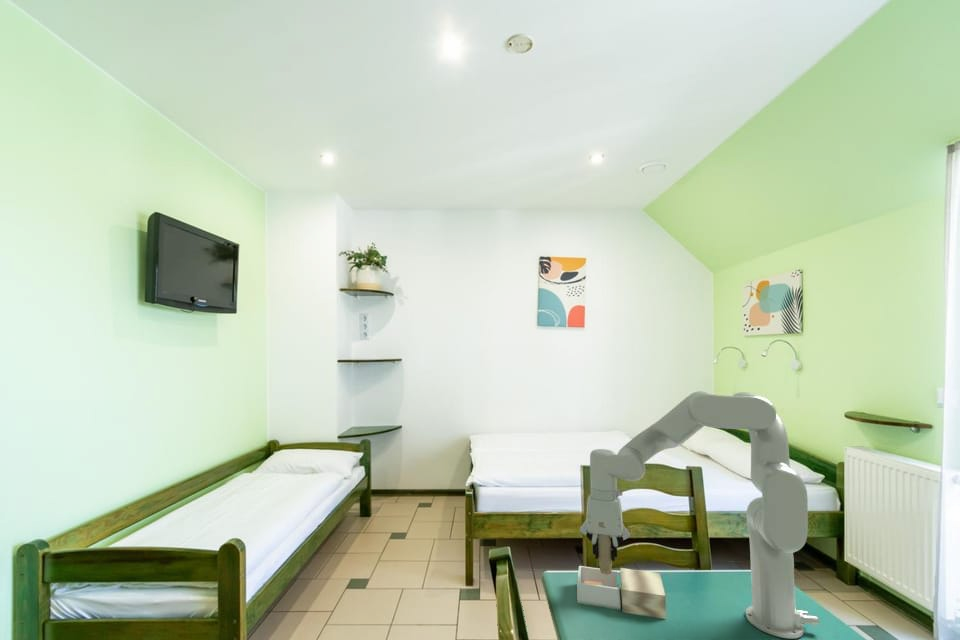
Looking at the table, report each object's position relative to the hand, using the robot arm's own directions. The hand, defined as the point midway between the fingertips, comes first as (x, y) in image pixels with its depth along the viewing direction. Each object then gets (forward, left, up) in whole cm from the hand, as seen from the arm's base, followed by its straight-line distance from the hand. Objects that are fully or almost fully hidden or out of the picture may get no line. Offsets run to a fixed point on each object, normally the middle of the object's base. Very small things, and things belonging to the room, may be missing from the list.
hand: (604, 557), depth 125 cm
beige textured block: (-10, 0, -11) cm, 15 cm away
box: (+2, 0, -11) cm, 11 cm away
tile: (+3, +1, -8) cm, 9 cm away
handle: (0, 0, -4) cm, 4 cm away
